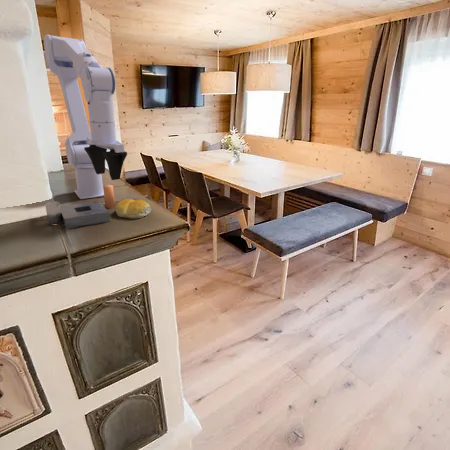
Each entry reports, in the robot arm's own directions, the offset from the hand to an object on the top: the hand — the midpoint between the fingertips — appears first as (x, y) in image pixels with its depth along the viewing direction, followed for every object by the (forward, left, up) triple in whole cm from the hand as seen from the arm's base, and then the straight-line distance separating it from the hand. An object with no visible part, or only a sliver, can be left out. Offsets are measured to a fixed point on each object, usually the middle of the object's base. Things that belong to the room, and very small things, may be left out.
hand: (107, 176), depth 80 cm
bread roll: (+5, +5, -10) cm, 12 cm away
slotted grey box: (+3, -9, -9) cm, 13 cm away
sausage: (-3, +1, -9) cm, 10 cm away
